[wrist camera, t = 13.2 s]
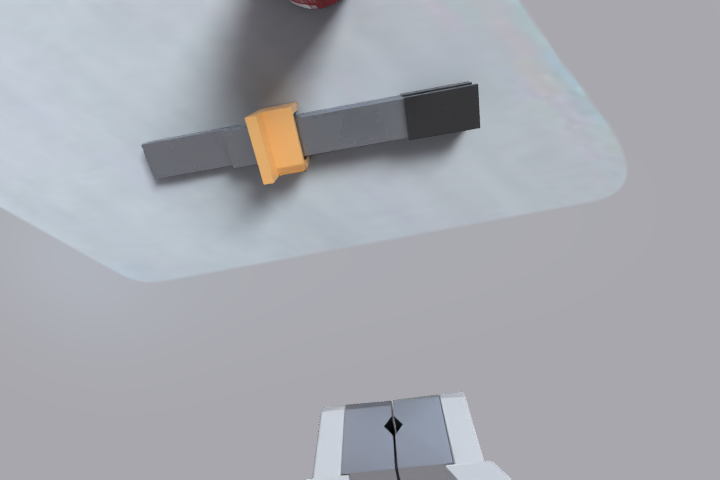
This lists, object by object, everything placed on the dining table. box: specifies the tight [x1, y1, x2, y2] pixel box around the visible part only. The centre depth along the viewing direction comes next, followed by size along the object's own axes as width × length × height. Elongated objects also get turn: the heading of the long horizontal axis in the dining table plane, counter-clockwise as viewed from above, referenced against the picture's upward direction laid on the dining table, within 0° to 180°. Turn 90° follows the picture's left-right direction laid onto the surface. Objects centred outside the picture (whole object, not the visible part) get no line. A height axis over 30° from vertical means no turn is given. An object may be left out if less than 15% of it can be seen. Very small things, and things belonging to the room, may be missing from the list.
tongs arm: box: [223, 84, 480, 168], centre depth 32 cm, size 20×3×2 cm, turn 100°
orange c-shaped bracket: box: [245, 102, 310, 185], centre depth 32 cm, size 3×5×5 cm, turn 10°
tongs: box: [142, 82, 472, 179], centre depth 34 cm, size 28×3×1 cm, turn 100°
